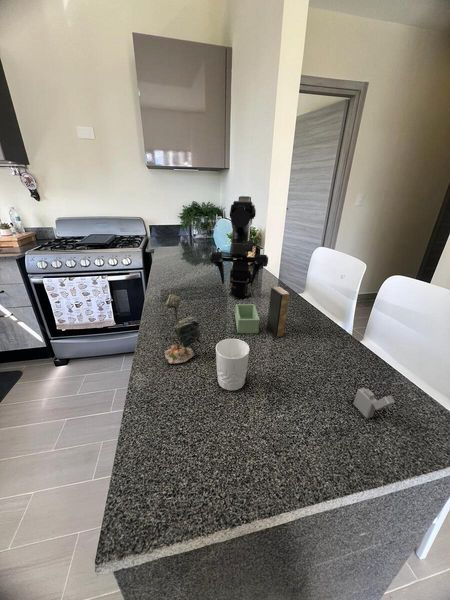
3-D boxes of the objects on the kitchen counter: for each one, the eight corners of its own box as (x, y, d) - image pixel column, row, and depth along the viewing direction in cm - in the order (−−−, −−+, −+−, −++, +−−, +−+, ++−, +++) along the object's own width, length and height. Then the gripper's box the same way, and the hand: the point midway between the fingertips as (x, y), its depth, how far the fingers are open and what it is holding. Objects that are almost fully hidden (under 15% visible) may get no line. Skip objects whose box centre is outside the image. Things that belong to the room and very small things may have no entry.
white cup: (250, 374, 65) (253, 342, 60) (242, 396, 58) (244, 362, 54) (221, 367, 67) (222, 335, 63) (210, 387, 60) (210, 353, 56)
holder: (235, 316, 93) (235, 304, 90) (253, 316, 93) (254, 304, 91) (237, 333, 82) (238, 319, 80) (258, 333, 82) (259, 319, 80)
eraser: (275, 337, 81) (280, 294, 74) (266, 327, 86) (271, 287, 79) (283, 335, 82) (289, 293, 75) (274, 326, 87) (279, 286, 80)
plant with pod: (205, 361, 69) (204, 295, 60) (163, 366, 67) (156, 298, 58) (201, 344, 76) (199, 283, 68) (163, 348, 74) (156, 285, 65)
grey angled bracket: (352, 403, 57) (361, 376, 53) (359, 401, 57) (368, 374, 54) (377, 430, 51) (389, 401, 47) (384, 428, 51) (396, 399, 48)
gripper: (209, 228, 76) (204, 279, 75) (271, 231, 74) (267, 283, 73) (213, 240, 87) (210, 284, 86) (268, 242, 85) (265, 288, 84)
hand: (237, 285), depth 82 cm, fingers open, 9 cm apart
